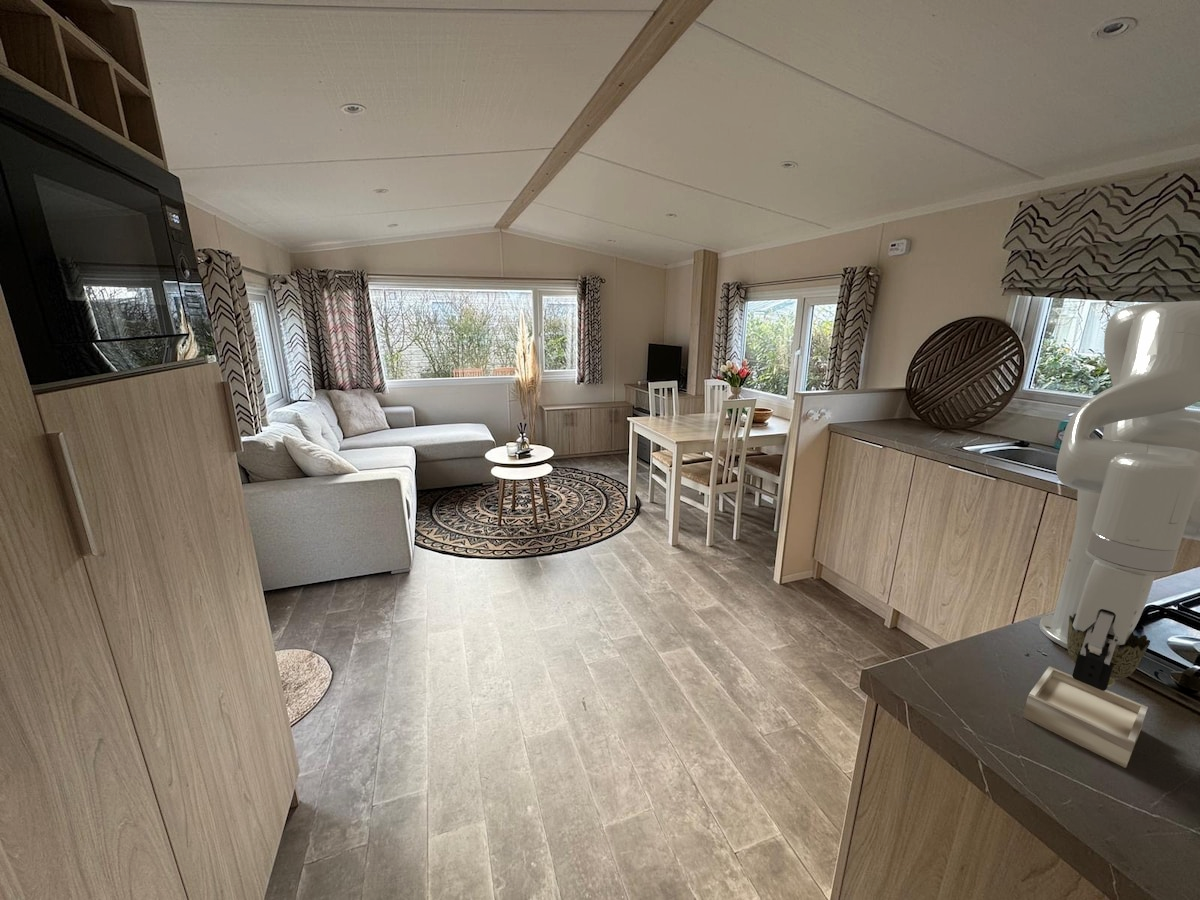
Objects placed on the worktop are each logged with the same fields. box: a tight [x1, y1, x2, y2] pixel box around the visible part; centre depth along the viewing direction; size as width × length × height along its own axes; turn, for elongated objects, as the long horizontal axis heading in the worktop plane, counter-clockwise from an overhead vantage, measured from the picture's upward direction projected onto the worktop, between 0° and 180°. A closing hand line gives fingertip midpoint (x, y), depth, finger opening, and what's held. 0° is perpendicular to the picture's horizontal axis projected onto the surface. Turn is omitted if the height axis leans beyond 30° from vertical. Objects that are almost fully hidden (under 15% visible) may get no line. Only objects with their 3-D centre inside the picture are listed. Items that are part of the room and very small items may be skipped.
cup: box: [1067, 613, 1151, 688], centre depth 65 cm, size 8×7×8 cm
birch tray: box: [1022, 665, 1149, 769], centre depth 67 cm, size 10×10×4 cm
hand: (1095, 671), depth 65 cm, fingers closed on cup, 6 cm apart
